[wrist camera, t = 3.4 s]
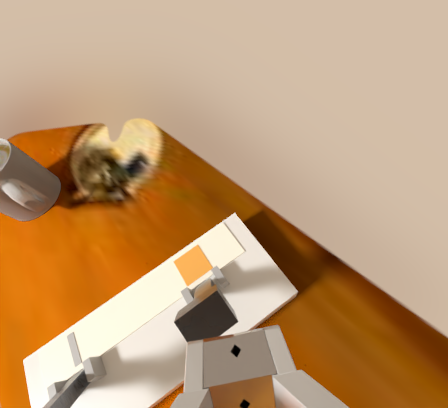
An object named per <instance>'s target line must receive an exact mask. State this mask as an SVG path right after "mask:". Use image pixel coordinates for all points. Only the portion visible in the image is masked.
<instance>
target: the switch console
mask: <svg viewBox="0 0 448 408" xmlns="http://www.w3.org/2000/svg"><path fill="white" fill-rule="evenodd" d="M209 278H211V279H212V281H213V282H214V284H216V285H217V286H218V288H219V289H220V291H221V292H222V294H223V295H224V296H225V298H226V299H227V301H228V302H229V304H230V305H231V307H232V308H233V310H234V311H235V314H236V316H237V319H238V322H237V323H236V324H235V325H234V326H232V327H231V328H230V329H228V330H227V331H226V332H224V333H223V334H222V335H220V336H225V335H231V334H235V333H240V332H245V331H249V330H253V329H255V328H256V327H257V326H259V325H260V324H261V323H262V322H264V321H265V320H266V319H268V318H269V317H270V316H271V315H273V314H274V313H275V312H277V311H278V310H279V309H280V308H282V307H283V306H284V305H286V304H287V303H288V302H290V301H291V300H292V299H293V298H295V297H296V295H297V293H298V291H297V290H296V288H295V287H294V286H293V285H292V283H291V282H290V281H289V280H288V279H287V277H286V276H285V275H284V274H283V272H282V271H281V270H280V269H279V267H278V266H277V265H276V264H275V262H274V261H273V260H272V259H271V257H270V256H269V255H268V254H267V252H266V251H265V250H264V249H263V247H262V246H261V245H260V244H259V242H258V241H257V240H256V239H255V237H254V236H253V235H252V234H251V232H250V231H249V230H248V229H247V227H246V226H245V225H244V224H243V222H242V221H241V220H240V219H239V217H238V216H237V215H236V214H235V213H234V214H232V215H231V216H230V217H228V218H227V219H225V220H224V221H222V222H221V223H219V224H218V225H217V226H215V227H214V228H212V229H211V230H209V231H208V232H207V233H205V234H204V235H202V236H201V237H199V238H198V239H196V240H195V241H194V242H192V243H191V244H189V245H188V246H186V247H185V248H184V249H182V250H181V251H179V252H178V253H176V254H175V255H173V256H172V257H171V258H169V259H168V260H166V261H165V262H163V263H162V264H160V265H159V266H158V267H156V268H155V269H153V270H152V271H150V272H149V273H148V274H146V275H145V276H143V277H142V278H140V279H139V280H137V281H136V282H135V283H133V284H132V285H130V286H129V287H127V288H126V289H125V290H123V291H122V292H120V293H119V294H117V295H116V296H114V297H113V298H112V299H110V300H109V301H107V302H106V303H104V304H103V305H102V306H100V307H99V308H97V309H96V310H94V311H93V312H91V313H90V314H89V315H87V316H86V317H84V318H83V319H81V320H80V321H79V322H77V323H76V324H74V325H73V326H71V327H70V328H68V329H67V330H66V331H64V332H63V333H61V334H60V335H58V336H57V337H56V338H54V339H53V340H51V341H50V342H48V343H47V344H45V345H44V346H43V347H41V348H40V349H38V350H37V351H35V352H34V353H33V354H31V355H30V356H28V357H27V358H25V359H24V360H23V363H24V368H25V374H26V380H27V386H28V392H29V398H30V404H31V408H43V407H44V406H45V405H46V403H47V402H48V401H49V400H50V399H51V398H52V397H53V396H54V395H55V394H56V393H57V392H58V391H59V390H60V389H61V388H62V387H63V386H64V385H65V384H66V382H67V381H68V380H70V379H71V378H73V377H74V376H75V375H77V374H78V373H80V372H81V371H82V370H85V374H86V377H87V381H88V382H90V383H89V385H88V386H87V387H86V388H85V390H84V391H83V392H82V394H81V395H80V396H79V397H78V399H77V400H76V401H75V402H74V404H73V405H72V406H71V407H70V408H153V407H154V406H155V405H157V404H158V403H159V402H161V401H162V400H163V399H164V398H166V397H167V396H168V395H170V394H171V393H172V392H173V391H175V390H176V389H177V388H179V387H180V386H181V385H183V384H184V377H185V361H186V346H187V341H186V340H185V338H184V337H183V335H182V334H181V332H180V331H179V329H178V328H177V326H176V325H175V323H174V320H175V318H176V315H177V312H178V311H179V310H181V309H182V308H183V307H185V306H186V305H188V304H189V303H190V302H192V301H193V299H194V294H195V289H196V288H197V287H198V286H200V285H201V284H202V283H204V282H205V281H207V280H208V279H209Z"/></svg>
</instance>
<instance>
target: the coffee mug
mask: <svg viewBox="0 0 448 408" xmlns="http://www.w3.org/2000/svg"><path fill="white" fill-rule="evenodd" d="M60 190H61V183H60V180H59V178H58V177H57V176H55V175H54V174H53V173H51V172H50V171H49V170H47V169H46V168H45V167H43V166H42V165H40V164H39V163H38V162H36V161H35V160H34V159H32V158H31V157H29V156H28V155H27V154H25V153H24V152H23V151H21V150H20V149H19V148H17V147H16V146H14V145H13V144H12V143H10V142H9V141H7V140H5V139H1V138H0V212H1V213H3V214H5V215H8V216H10V217H12V218H14V219H16V220H19V221H29V220H33V219H35V218H38V217H39V216H41V215H43V214H44V213H45V212H47V211H48V210H49V209H50V208H51V207H52V206H53V204H54V203H55V202H56V200H57V198H58V196H59V194H60Z"/></svg>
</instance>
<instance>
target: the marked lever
mask: <svg viewBox="0 0 448 408" xmlns="http://www.w3.org/2000/svg"><path fill="white" fill-rule="evenodd" d="M237 322H238V319H237V316H236V314H235V311H234V310H233V308H232V307H231V305H230V304H229V302H228V301H227V299H226V298H225V296H224V295H223V294H222V292H221V291H220V289H219V288H218V286H217V285H216V284H214V282H213V281H212V279H211V278H209V279H208V280H207V281H205V282H204V283H202V284H201V285H200V286H198V287H197V288H196V289H195V294H194V299H193V301H192V302H190V303H189V304H188V305H186V306H185V307H183V308H182V309H181V310H179V311H178V312H177V315H176V318H175V320H174V323H175V325H176V326H177V328H178V329H179V331H180V332H181V334H182V335H183V337H184V338H185V340H186V341H187V343H188V342H190V341H196V340H202V339H206V338H213V337H219V336H220V335H222V334H223V333H224V332H226V331H227V330H228V329H230V328H231V327H232V326H234V325H235V324H236V323H237Z"/></svg>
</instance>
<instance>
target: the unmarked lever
mask: <svg viewBox="0 0 448 408" xmlns="http://www.w3.org/2000/svg"><path fill="white" fill-rule="evenodd" d="M89 383H90V382H88V381H87V377H86V374H85V370H82V371H81V372H80V373H78V374H77V375H75V376H74V377H73V378H71V379H70V380H68V381H67V382H66V384H65V385H64V386H63V387H62V388H61V389H60V390H59V391H58V392H57V393H56V394H55V395H54V396H53V397H52V398H51V399H50V400H49V401H48V402H47V403H46V405H45V406H44V407H43V408H70V407H71V406H72V405H73V404H74V402H75V401H76V400H77V399H78V397H79V396H80V395H81V394H82V392H83V391H84V390H85V388H86V387H87V386H88V385H89Z"/></svg>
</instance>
